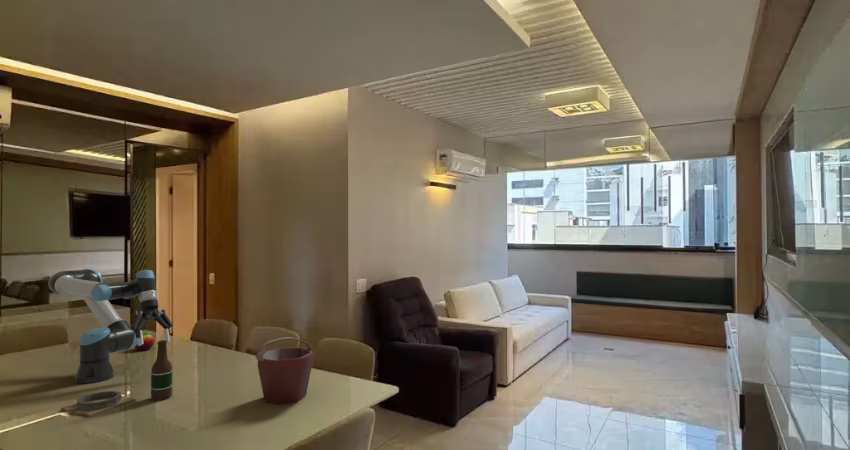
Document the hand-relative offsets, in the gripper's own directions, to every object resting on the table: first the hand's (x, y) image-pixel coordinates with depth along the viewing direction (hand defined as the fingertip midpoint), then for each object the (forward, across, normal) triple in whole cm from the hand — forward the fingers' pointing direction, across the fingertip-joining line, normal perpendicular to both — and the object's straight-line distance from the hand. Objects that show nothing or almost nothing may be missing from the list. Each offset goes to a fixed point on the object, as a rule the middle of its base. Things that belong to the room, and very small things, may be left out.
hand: (154, 343), depth 219 cm
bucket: (+43, +7, -63) cm, 76 cm away
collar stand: (+24, -30, -3) cm, 38 cm away
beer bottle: (+28, -14, -18) cm, 35 cm away
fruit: (-11, +39, +61) cm, 73 cm away
